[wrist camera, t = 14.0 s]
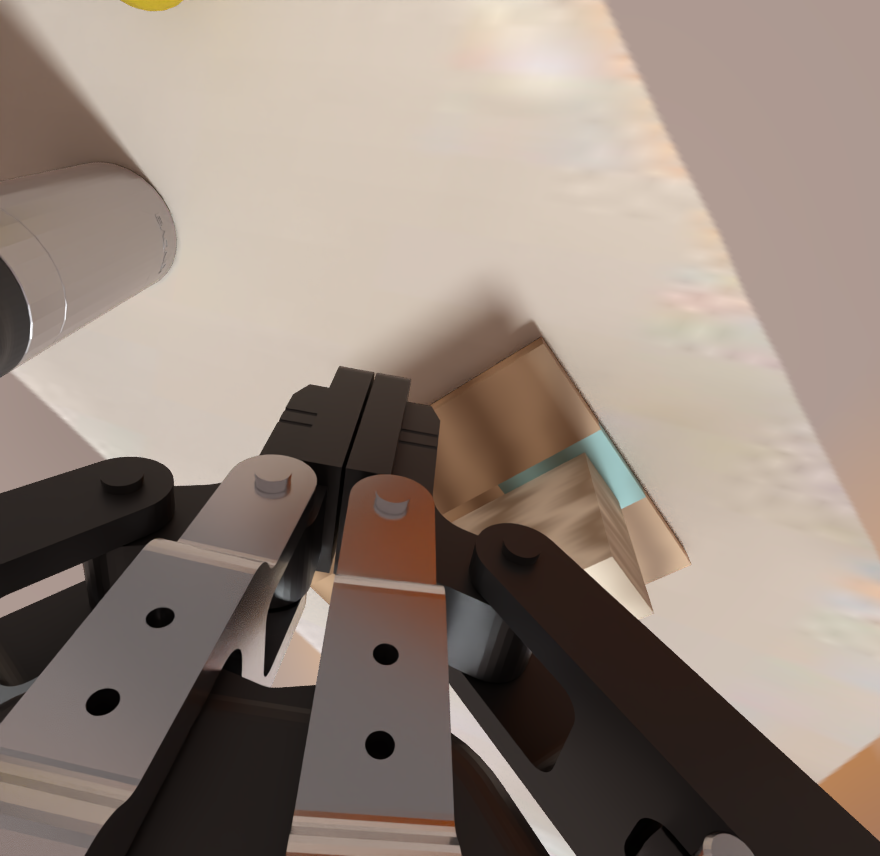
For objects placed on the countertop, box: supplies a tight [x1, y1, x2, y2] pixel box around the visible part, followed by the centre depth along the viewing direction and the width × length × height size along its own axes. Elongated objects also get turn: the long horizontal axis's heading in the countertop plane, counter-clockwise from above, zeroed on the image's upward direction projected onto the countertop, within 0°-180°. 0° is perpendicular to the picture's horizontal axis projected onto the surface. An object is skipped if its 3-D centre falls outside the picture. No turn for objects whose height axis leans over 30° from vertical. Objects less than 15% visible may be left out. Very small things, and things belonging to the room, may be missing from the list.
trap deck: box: [310, 337, 691, 605], centre depth 58 cm, size 32×26×2 cm
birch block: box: [451, 452, 654, 620], centre depth 49 cm, size 14×6×13 cm, turn 126°
